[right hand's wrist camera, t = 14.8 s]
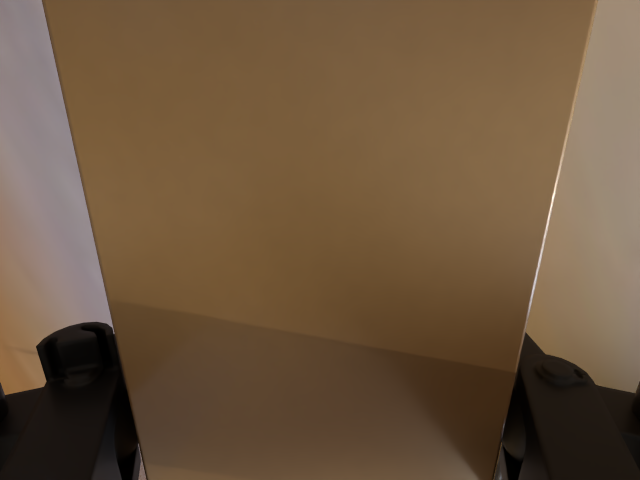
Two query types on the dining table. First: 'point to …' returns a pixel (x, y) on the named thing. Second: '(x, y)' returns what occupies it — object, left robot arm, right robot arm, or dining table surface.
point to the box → (319, 221)
